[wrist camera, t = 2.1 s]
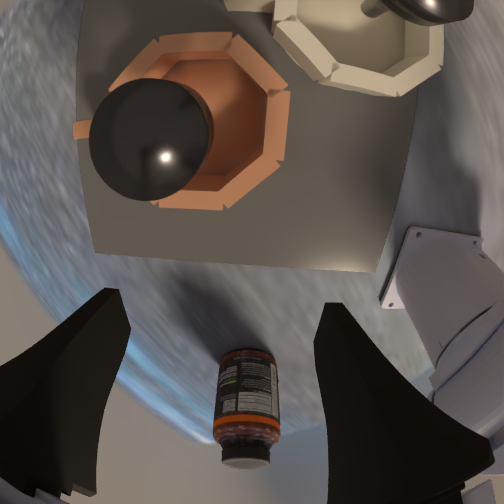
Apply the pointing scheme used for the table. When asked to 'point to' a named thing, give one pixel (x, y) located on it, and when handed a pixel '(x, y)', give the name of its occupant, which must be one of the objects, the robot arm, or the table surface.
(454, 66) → the table surface
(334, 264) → the slate board
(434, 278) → the robot arm
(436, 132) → the table surface
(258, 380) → the supplement bottle
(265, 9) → the cream pot
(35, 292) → the table surface
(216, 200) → the terracotta pot
